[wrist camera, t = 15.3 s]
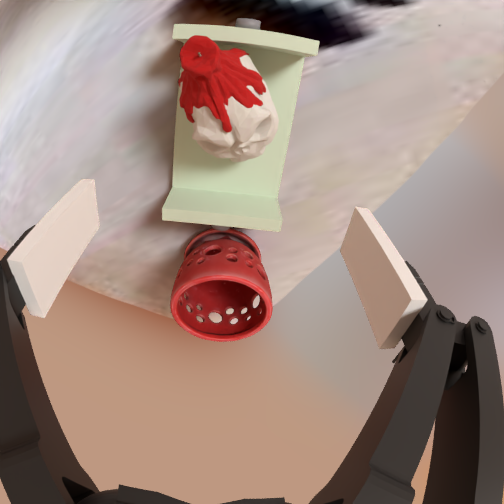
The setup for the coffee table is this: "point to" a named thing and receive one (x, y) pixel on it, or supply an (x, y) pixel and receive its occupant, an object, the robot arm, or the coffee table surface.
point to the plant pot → (221, 286)
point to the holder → (223, 169)
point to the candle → (225, 100)
